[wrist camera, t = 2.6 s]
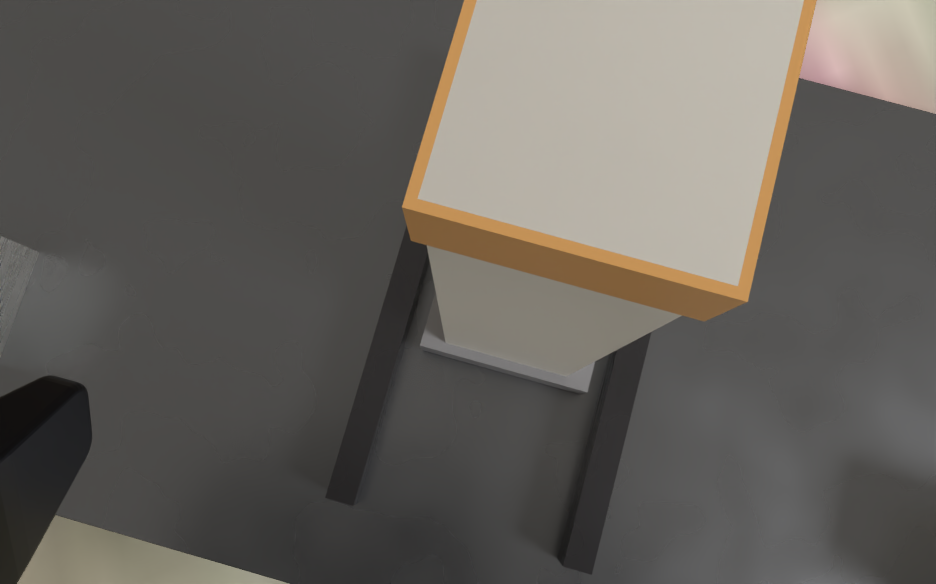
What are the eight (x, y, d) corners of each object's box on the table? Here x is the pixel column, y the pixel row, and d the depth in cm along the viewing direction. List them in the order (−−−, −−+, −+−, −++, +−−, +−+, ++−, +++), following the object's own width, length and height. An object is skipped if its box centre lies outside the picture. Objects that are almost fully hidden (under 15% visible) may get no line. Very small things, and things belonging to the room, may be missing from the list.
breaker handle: (580, 394, 19) (795, 328, 7) (422, 349, 19) (348, 205, 7) (614, 264, 19) (870, -18, 7) (459, 222, 19) (452, -126, 7)
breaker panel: (1065, 794, 19) (1280, 924, 14) (-162, 436, 20) (-369, 437, 15) (1155, 202, 21) (1368, 132, 16) (46, -91, 22) (-74, -241, 17)
